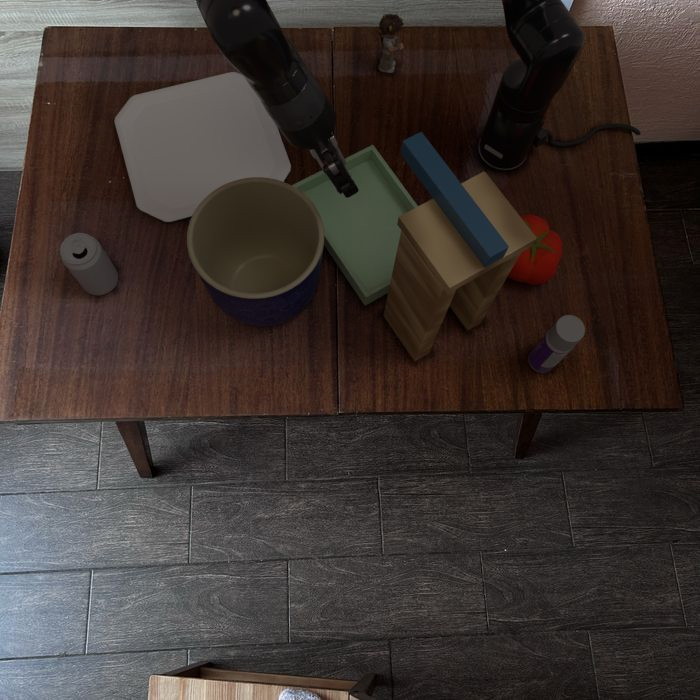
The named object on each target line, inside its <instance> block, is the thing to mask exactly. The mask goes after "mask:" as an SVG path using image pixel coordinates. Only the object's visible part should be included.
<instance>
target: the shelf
mask: <svg viewBox="0 0 700 700" xmlns="http://www.w3.org/2000/svg"><path fill="white" fill-rule="evenodd" d="M460 183H461V184H462V186H463V187H464V188H465V189H466V191H467V192H468V193H469V195H470V196H471V197H472V199H473V200H474V201H475V203H476V204H477V205H478V207H479V208H480V209H481V210H482V212H483V213H484V214H485V216H486V217H487V218H488V220H489V221H490V222H491V224H492V225H493V226H494V227H495V229H496V230H497V231H498V233H499V234H500V235H501V237H502V238H503V239H504V241H505V242H506V243H507V245H508V246H509V248H508V250H507V251H506V253H505V255H504V257H503V258H502V259H500V260H498V261H496V262H494V263H493V264H491V265H489V266H487V267H486V268H485V267H484V266H483V265H482V263H481V262H480V261H479V259H478V258H477V257H476V255H475V254H474V253H473V251H472V250H471V249H470V247H469V246H468V244H467V243H466V242H465V240H464V239H463V238H462V236H461V235H460V234H459V232H458V231H457V230H456V228H455V227H454V226H453V224H452V223H451V222H450V220H449V219H448V218H447V216H446V215H445V214H444V212H443V211H442V209H441V208H440V207H439V205H438V204H437V203H436V201H435V200H434V199H433V198H431V199H429V200H427V201H426V202H423V203H422V204H420V205H417V206H418V207H416V208H414V209H412V210H411V211H409V212H407V213H405V214H403V215H401V216H399V217H398V223H397V225H398V226H399V228H400V229H401V234H400V238H399V243H398V248H397V253H396V258H395V262H394V267H393V272H392V277H391V282H390V286H389V291H388V293H387V296H386V301H385V306H384V310H383V317H384V319H385V321H387V323H388V325H389V326H390V328H391V330H393V332H394V334H395V335H396V337H397V338H398V339H399V341H400V342H401V344H402V345H403V347H404V348H405V350H406V351H407V352H408V353H407V354H409V356H410V357H411V359H412V360H413V362H417V361H419V360H420V359H422V358H424V357H425V356H427V355H429V354H430V352H431V350H432V347H433V345H434V342H435V340H436V338H437V335H438V333H439V331H440V329H441V326H442V325H443V322H444V319H445V317H446V314H447V312H448V310H449V308H450V309H451V310H452V312H453V313H454V314H455V316H456V317H457V319H458V321H459V322H460V323H461V324H462V326H463V327H464V329H465V330H466V331H467V332H468V331H470V330H472V329H473V328H475V327H477V326H478V325H480V324H481V323H483V320H484V319H485V317H486V315H487V313H488V312H489V310H490V308H491V306H492V305H493V303H494V301H495V299H496V298H497V296H498V294H499V292H500V291H501V289H502V287H503V286H504V283H505V282H506V280H507V279H508V277H507V276H508V275H509V273H510V271H511V269H512V268H513V266H514V264H515V262H516V261H517V259H518V257H519V255H520V254H521V252H522V251H524V250H526V249H528V248H529V247H531V246H533V244H534V243H535V241H536V239H537V238H536V236H535V235H534V234H533V233H532V231H531V230H530V229H529V227H528V226H527V225H526V224H525V222H524V221H523V220H522V218H521V217H520V216H521V215H519V213H518V212H517V210H516V209H515V208H514V207H513V206H512V205H511V202H509V200H508V199H507V198H506V197H505V195H504V194H503V193H502V192H501V190H500V189H499V187H498V186H497V185H496V183H495V182H494V181H493V180H492V178H491V177H490V176H489V175H488V174H487V173H486V171H485V170H484V171H482V172H480V173H478V174H477V175H474V176H472V177H470V178H469V179H467V180H465V181H463V182H460Z"/></svg>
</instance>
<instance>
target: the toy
mask: <svg viewBox="0 0 700 700" xmlns="http://www.w3.org/2000/svg"><path fill="white" fill-rule="evenodd" d="M392 4H393V7H392V8H394V6H395V4H397V3H392ZM398 10H399V7H398V8H397V7H396V9H395V11H398ZM383 12H386V7H385V8H384V9H383ZM387 12H388V13H384V14H383V13H382V16H381V17H382V18H380V21H379V23H378V29H377V31H376V33H378V35H379V41H378V43H379V46H381V47H382V49H381V52H382V53H381V54H382V55H381V57H380V59H379V64H378V70H379V71H380V72H381V73H388V74H393V73H395V68H396V67H395V66H396V63H397V62H396V60H395V59H394V58H395V57H394V56H395V53H397V52H401V51H403V49H405V47H404V43H403V42H400V38H399V37H398V35H399V34H400V35H399V36H400V37H401V36H402V35H401V32H402V30H403V26H404V24H405V23H404V22H403V21H404V20H403V17H406V16H405V15H403V14H402V11H400V10H399V12H396V13H395V14H394V13H393V12H394V11H393V10H392V12H391V13H390V12H389V10H387ZM399 13H400V14H399ZM402 16H403V17H402ZM378 31H380V32H378Z"/></svg>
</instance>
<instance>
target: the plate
mask: <svg viewBox="0 0 700 700" xmlns="http://www.w3.org/2000/svg"><path fill="white" fill-rule="evenodd" d="M114 125H115V130H116V133H117V137H118V140H119V144H120V148H121V153H122V156H123V159H124V163H125V167H126V171H127V175H128V179H129V182H130V186H131V190H132V193H133V197H134V202H135V204H136V205H135V206H136V208H137V209H138V210H139V211H140V212H142V213H145V214H146V215H148V216H151V217H152V218H155V219H157V220H159V221H161V222H163V223H169V224H170V223H174V222H178V221H182V220H185V219H191V217H192V215H193V213H194V212H195V210H196V208H197V207H198V205H199V204H200V203H201V202H202V201H203V200H204V198H206V197H207V196H208V195H209V194H210V193H211V192H213V191H214V190H216V189H217V188H219V187H221V186H223V185H225V184H227V183H229V182H232V181H235V180H239V179H244V178H251V177H263V178H271V179H276V180H279V181H282V182H285V181H286V180H287V178H288V176H289V175H290V173H291V171H292V165H291V162H290V159H289V156H288V153H287V150H286V148H285V144H284V142H283V140H282V139H283V138H282V137H281V134H280V133H281V132H280V130H279V128H278V127H277V126H276V124H275V123H274V121H273V120H272V119H271V117H270V116H269V115H268V113H267V112H266V110H265V108H264V106H263V104H262V102H261V100H260V99H259V97H258V96H257V95H256V93H255V92H254V91H253V89H252V88H251V86H250V85H249V84H248V82H247V81H246V79H245V77H244V76H243V75H242V74H241V73H239V72H238V71H237V72H236V71H230V72H225V73H222V74H218V75H213V76H208V77H203V78H201V79H196V80H193V81H189V82H188V81H187V82H184V83H180V84H179V83H178V84H175V85H171V86H167V87H163V88H159V89H154V90H151V91H150V90H149V91H146V92H142V93H138V94H134V95H132V96H131V97H129V98H128V99H127V101H126V103H125V104H124V105H123V106H122V107H121V109H120V110H119V112H118V113H117V114H116V116H115V117H114Z"/></svg>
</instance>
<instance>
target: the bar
mask: <svg viewBox="0 0 700 700" xmlns="http://www.w3.org/2000/svg"><path fill="white" fill-rule="evenodd" d="M400 156H401V157H402V159H403V160H404V161H405V162H406V164H407V165H408V166H409V168H410V169H411V171H412V172H413V173H414V175H415V176H416V177H417V179H418V180H419V181H420V183H421V184H422V185H423V187H424V189H426V191H427V193H429V195H430V196H431V198H432V199H434V200H435V201H436V203H437V204H438V205H439V207H440V208H441V209H442V211H443V212H444V214H445V215H446V216H447V218H448V219H449V220H450V222H451V223H452V224H453V226H454V227H455V228H456V230H457V231H458V232H459V234H460V235H461V236H462V238H463V239H464V240H465V242H466V243H467V244H468V246H469V247H470V249H471V250H472V251H473V253H474V254H475V255H476V257H477V258H478V259H479V261H480V262H481V263H482V265H483V266H484V267H485V268H486V267H487V266H489V265H491V264H493V263H494V262H496V261H498V260H500V259H502V258H503V257H504V255H505V253H506V251H507V250H508V248H509V246H508V245H507V243H506V242H505V241H504V239H503V238H502V237H501V235H500V234H499V233H498V231H497V230H496V229H495V227H494V226H493V225H492V224H491V222H490V221H489V220H488V218H487V217H486V216H485V214H484V213H483V212H482V210H481V209H480V208H479V207H478V205H477V204H476V203H475V201H474V200H473V199H472V197H471V196H470V195H469V193H468V192H467V191H466V189H465V188H464V187H463V186H462V184H461V183H462V182H460V180H459V179H458V177H457V176H456V175H455V174H454V172H453V171H452V169H451V168H450V167H449V166H448V164H447V163H446V162H445V160H444V158H443V157H441V155H440V154H439V152H438V151H437V150H436V149H435V148H434V145H432V144H431V142H430V141H429V139H427V137H426V135H425V134H424V133H423V132H422V131H420V132H418V133H415V134H414V135H412V136H410V137H407V138H406V139H404V140H402V143H401V148H400Z"/></svg>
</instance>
